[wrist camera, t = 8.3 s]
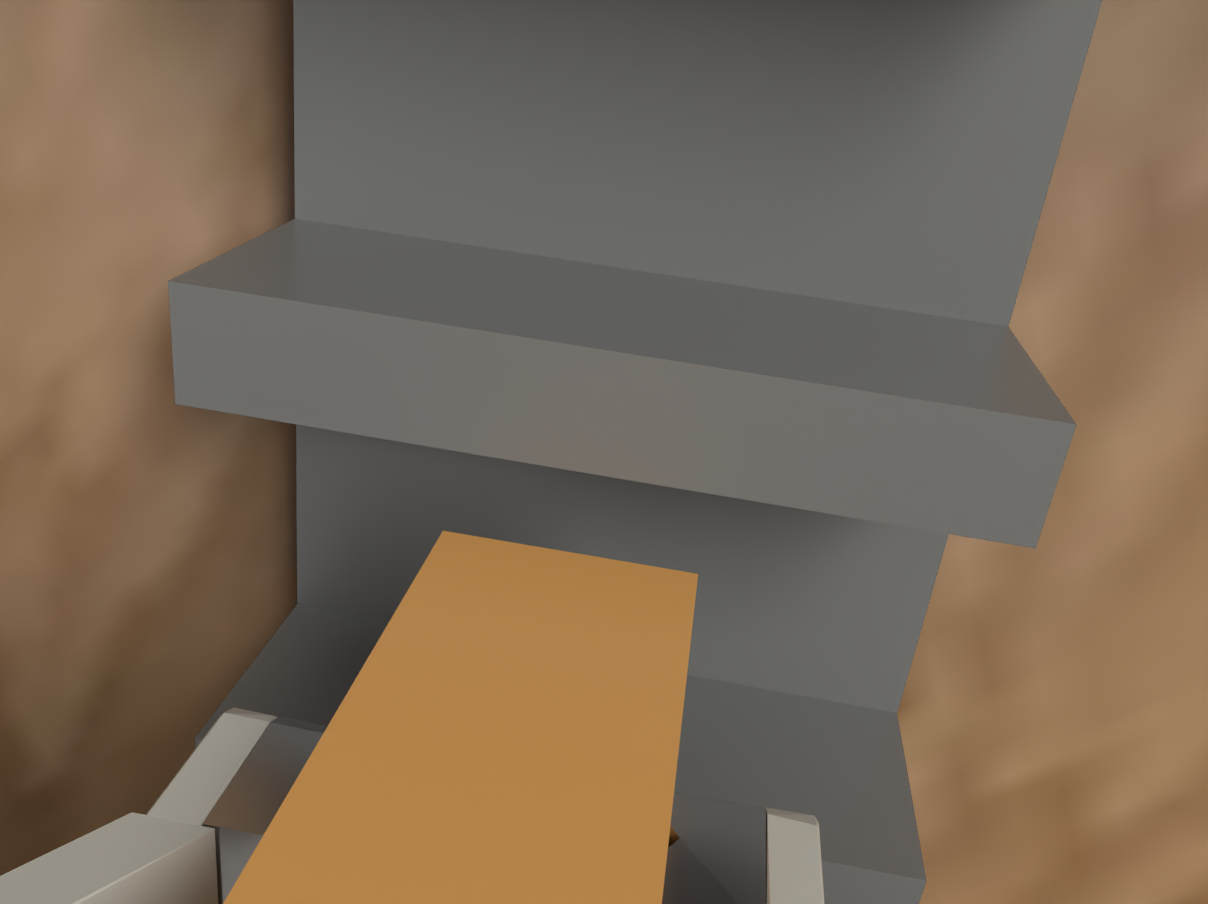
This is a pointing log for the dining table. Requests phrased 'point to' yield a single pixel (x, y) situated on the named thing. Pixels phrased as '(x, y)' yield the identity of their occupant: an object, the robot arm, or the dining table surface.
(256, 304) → the rack
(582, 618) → the orange plug
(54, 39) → the dining table surface
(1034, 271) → the dining table surface
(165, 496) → the dining table surface
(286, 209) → the dining table surface
